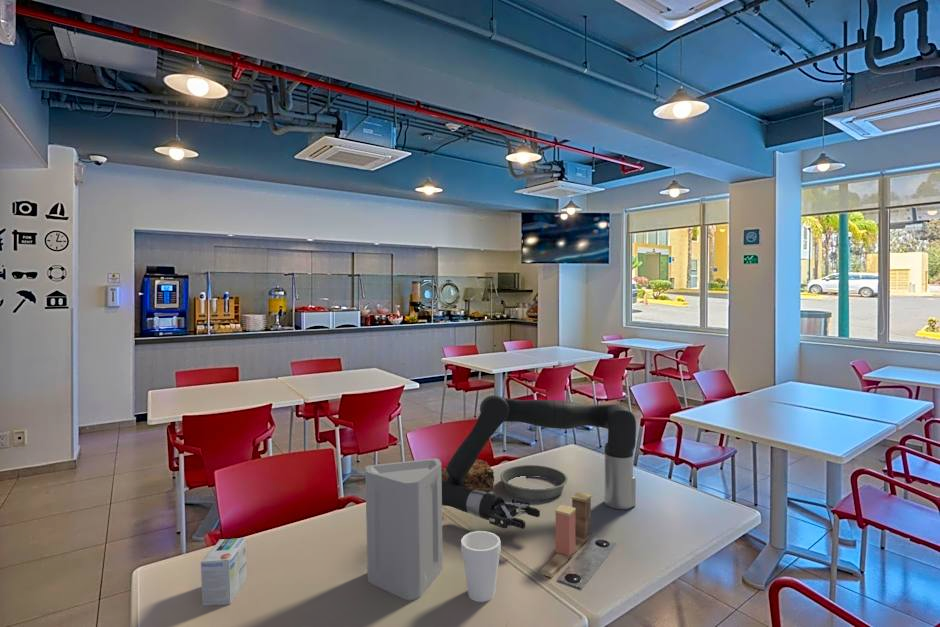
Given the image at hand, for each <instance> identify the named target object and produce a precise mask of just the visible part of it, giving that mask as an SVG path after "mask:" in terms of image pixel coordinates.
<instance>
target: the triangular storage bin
mask: <svg viewBox="0 0 940 627" xmlns="http://www.w3.org/2000/svg"><path fill="white" fill-rule="evenodd" d="M441 469H442V461H441V460H440V459H439V458H427V459H425V458H424V459H417V460H408V461H398V462H397V461H395V462H389V463H379V464H378V463H377V464H371V465H366V466H365V470H364V471H365V474H364V475H365V511H366V512H365V516H366V517H365V519H366V520H365V521H366V523H365V524H366V564H367V566H366V569H367V572H366V573H367V580H368V582H369V583H370V584H372V585H373V586H375V587H378V588H380V589H382V590H383V591H386V592H388V593H390V594H392V595H394V596H397V597H399V598H400V599H403V600H405V601H413V600H414V601H415V600H418V599H420V598H421V597H422V596H423V595H424V594H425V593H426V591H428V589H429V588H430V587H431V585H432V584H433V582H434V581H435V580H436V578H438V576H440V574H441V572H442V571H443V569H444V568H443V567H444V566H443V562H444V561H443V559H444V558H443V557H444V556H443V505H442V478H441Z"/></svg>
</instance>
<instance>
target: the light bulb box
mask: <svg viewBox="0 0 940 627" xmlns="http://www.w3.org/2000/svg"><path fill="white" fill-rule="evenodd" d="M246 540H247V539H246V538H245V537H240V538H239V537H238V538H224V539H223V538H222V539H218V541H217V542H216V544H215V545H214V546H213V547H212V549H211V550H210V551H209V553H207V555H206V556H205V557H204V558H203V559H202V560H201V561H200V576H201V598H202V599H201V601H202V604H201V605H202V606H203V607H205V606H223V605H224V606H225V605H231V604H232V603H233V600H234V599H235V598H236V596H237V595H238V593H239V592H240V590H241V588H242V587H243V585H244V584H245V582H246V581H247V579H248V576H247V575H248V574H247V573H248V572H247V570H248V569H247V541H246Z"/></svg>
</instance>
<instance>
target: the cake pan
mask: <svg viewBox="0 0 940 627" xmlns="http://www.w3.org/2000/svg"><path fill="white" fill-rule="evenodd" d="M520 476H540V477H545V478H544V479H546V478H548V479H547V480H550V479H551V481H553V480H554V481H553V482H555V481H556V482H555V483H556V484H558V483H559V485H556V486H553V487H550V488H546V489H529V488H522V487H518V486H514V485H512V484H509V483H508V481H509V480H511V479H513V478H515V477H520ZM499 477H500V480H501V482H503V486H504V489H506V490H505V491H506V492H507V493H508V494H510V495H511V494H512V496H514V497H516V496H517V497H516V498H519V497H520V499H525V500H535V501H537V500H540V501H541V499H542V500H548V499H553V498H556V497H558V496H559V495H561V494H562V493H563V491H564V488H565V485H567V483H568V480H569V478H568V476H567V475H566V474H565V473H564V472H563V471H562V470H560V469H557V468H553V467H550V466H546V465H538V464H522V465H515V466H512V467H508V468H506V469H504V470H503V471H502V472H501V473H500V476H499ZM540 477H539V478H540Z"/></svg>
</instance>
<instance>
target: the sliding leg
mask: <svg viewBox="0 0 940 627" xmlns="http://www.w3.org/2000/svg"><path fill="white" fill-rule="evenodd" d="M554 511H555V552H556V553H561V554H564V555H567V556H570V555H571V554H572V553H573V552H574V551H575V511H576V508H573V507H572V506H569V505H565V504H560V505H559V506H558V507H557V508H555V510H554Z"/></svg>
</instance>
